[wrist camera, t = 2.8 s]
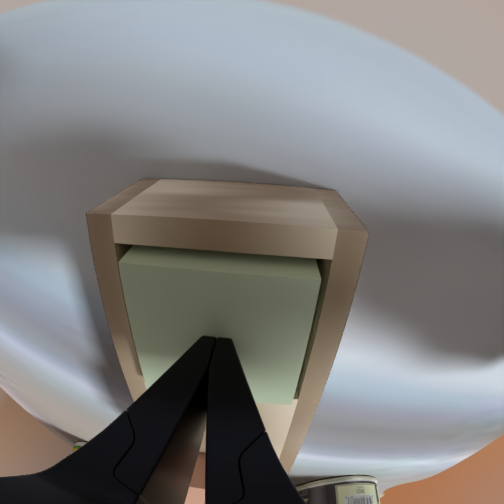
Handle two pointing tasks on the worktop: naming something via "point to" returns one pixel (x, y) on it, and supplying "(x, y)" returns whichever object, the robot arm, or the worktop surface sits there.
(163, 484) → the robot arm
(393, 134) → the worktop surface
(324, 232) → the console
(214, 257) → the sage key
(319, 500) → the coffee can
